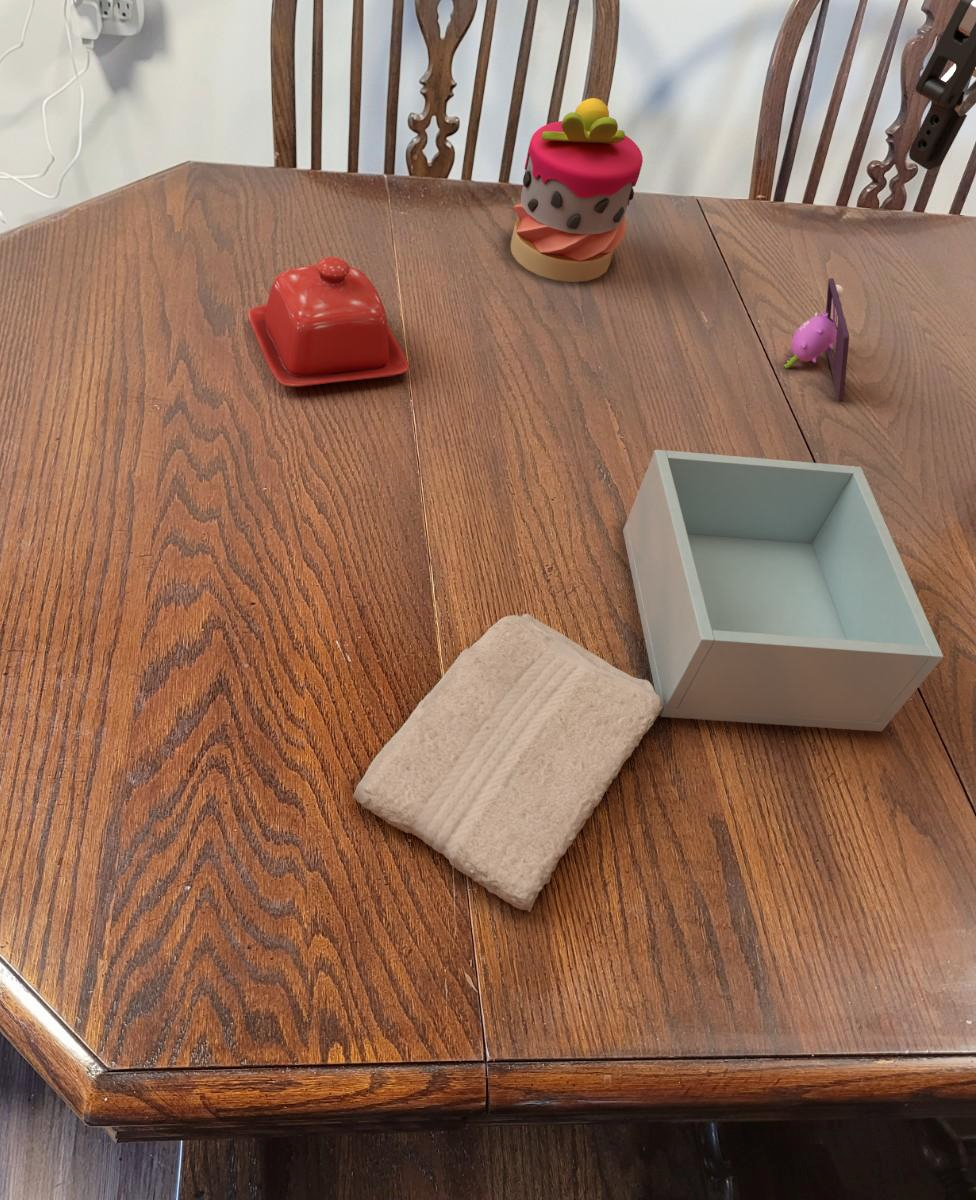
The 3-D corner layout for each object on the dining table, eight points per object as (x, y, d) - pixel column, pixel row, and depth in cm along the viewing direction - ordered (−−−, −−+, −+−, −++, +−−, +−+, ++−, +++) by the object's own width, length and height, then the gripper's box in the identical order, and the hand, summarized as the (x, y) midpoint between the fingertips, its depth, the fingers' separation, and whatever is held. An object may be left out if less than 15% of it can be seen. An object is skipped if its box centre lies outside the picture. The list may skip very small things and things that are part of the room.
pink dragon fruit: (859, 334, 85) (842, 275, 91) (791, 342, 87) (778, 284, 93) (852, 400, 90) (836, 340, 96) (787, 407, 91) (776, 347, 97)
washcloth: (662, 712, 66) (677, 683, 64) (526, 929, 56) (538, 904, 54) (502, 621, 70) (511, 590, 68) (347, 808, 60) (351, 780, 57)
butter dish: (369, 305, 93) (379, 217, 86) (412, 385, 86) (426, 295, 80) (243, 319, 90) (243, 228, 83) (277, 403, 83) (280, 311, 76)
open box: (813, 546, 78) (861, 466, 72) (881, 732, 67) (944, 656, 61) (622, 531, 77) (654, 448, 71) (659, 717, 66) (701, 639, 60)
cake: (497, 224, 104) (528, 69, 93) (598, 227, 106) (641, 75, 95) (517, 283, 98) (554, 124, 86) (625, 286, 99) (675, 130, 88)
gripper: (1091, -93, 55) (935, 198, 67) (1245, -105, 60) (1074, 166, 72) (979, -138, 59) (852, 144, 71) (1133, -146, 64) (989, 117, 76)
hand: (964, 155), depth 72 cm, fingers open, 8 cm apart
